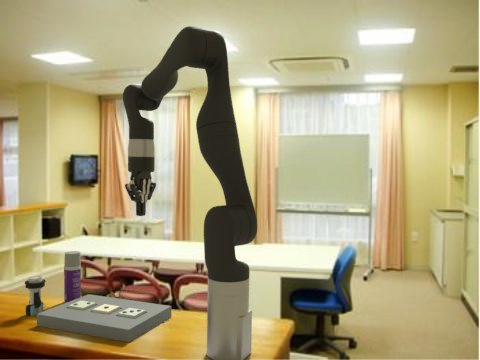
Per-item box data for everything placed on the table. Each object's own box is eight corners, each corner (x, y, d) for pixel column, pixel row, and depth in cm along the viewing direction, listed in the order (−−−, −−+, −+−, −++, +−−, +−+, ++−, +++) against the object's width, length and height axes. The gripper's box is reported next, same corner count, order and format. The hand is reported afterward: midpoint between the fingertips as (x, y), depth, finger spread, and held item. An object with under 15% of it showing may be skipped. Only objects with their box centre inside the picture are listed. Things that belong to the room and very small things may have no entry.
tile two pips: (95, 311, 129) (95, 302, 129) (83, 316, 124) (83, 307, 124) (80, 309, 131) (81, 299, 131) (68, 314, 126) (68, 304, 126)
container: (75, 304, 138) (75, 254, 138) (61, 303, 139) (61, 253, 139) (83, 300, 143) (83, 251, 142) (69, 299, 144) (69, 250, 143)
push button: (36, 308, 135) (36, 273, 134) (52, 309, 133) (52, 275, 133) (20, 315, 128) (20, 279, 128) (37, 317, 127) (37, 280, 126)
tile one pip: (119, 315, 126) (120, 305, 126) (108, 320, 121) (108, 311, 121) (104, 312, 128) (104, 303, 128) (92, 318, 123) (92, 308, 123)
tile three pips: (145, 319, 123) (145, 309, 123) (134, 325, 118) (134, 315, 118) (129, 316, 125) (129, 307, 125) (117, 322, 120) (117, 312, 120)
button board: (171, 316, 129) (171, 306, 129) (128, 342, 110) (128, 329, 110) (88, 304, 139) (88, 294, 139) (36, 325, 120) (36, 314, 120)
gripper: (139, 155, 127) (139, 218, 127) (164, 156, 139) (164, 214, 140) (116, 154, 130) (116, 217, 130) (143, 155, 142) (142, 212, 142)
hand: (140, 215), depth 135 cm, fingers closed
